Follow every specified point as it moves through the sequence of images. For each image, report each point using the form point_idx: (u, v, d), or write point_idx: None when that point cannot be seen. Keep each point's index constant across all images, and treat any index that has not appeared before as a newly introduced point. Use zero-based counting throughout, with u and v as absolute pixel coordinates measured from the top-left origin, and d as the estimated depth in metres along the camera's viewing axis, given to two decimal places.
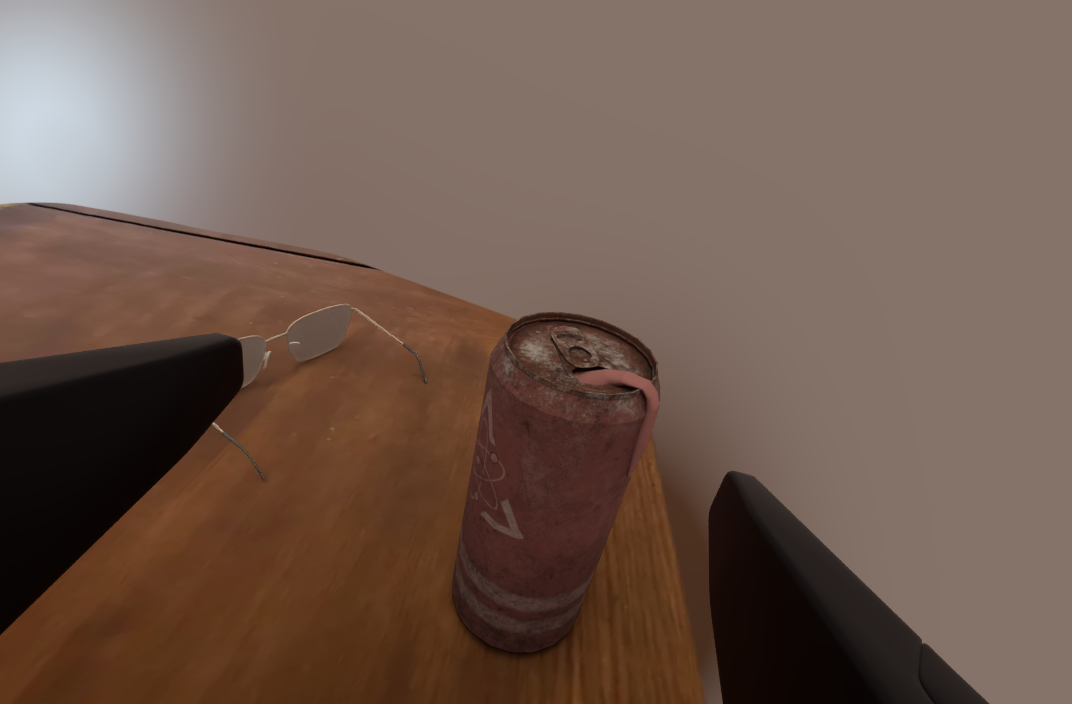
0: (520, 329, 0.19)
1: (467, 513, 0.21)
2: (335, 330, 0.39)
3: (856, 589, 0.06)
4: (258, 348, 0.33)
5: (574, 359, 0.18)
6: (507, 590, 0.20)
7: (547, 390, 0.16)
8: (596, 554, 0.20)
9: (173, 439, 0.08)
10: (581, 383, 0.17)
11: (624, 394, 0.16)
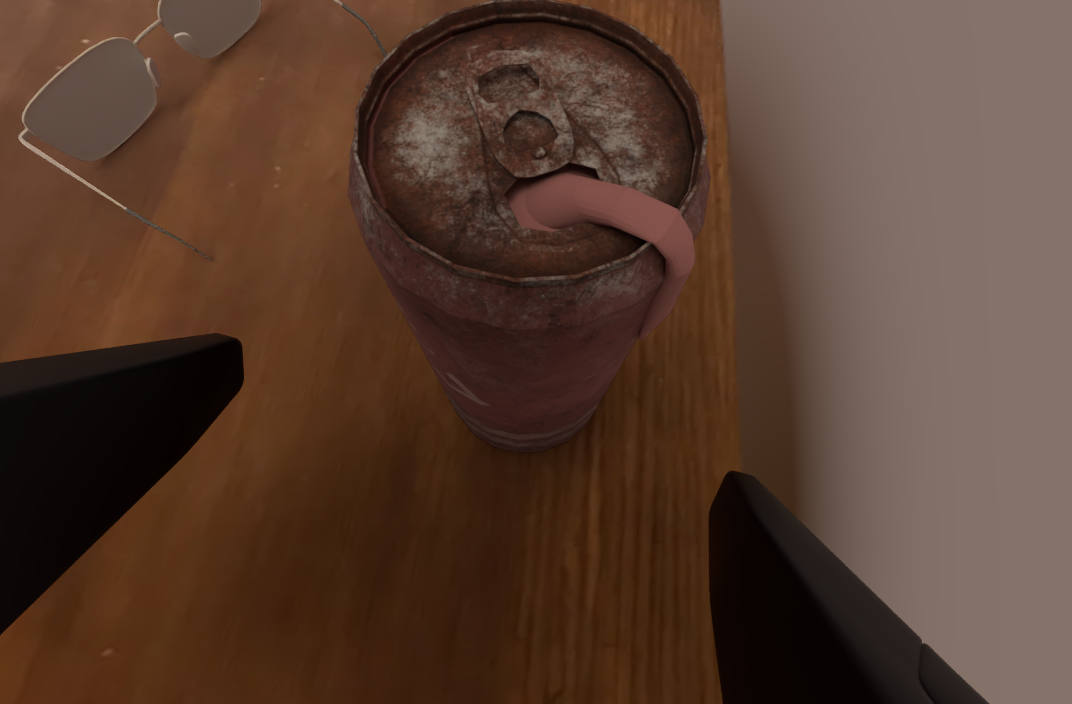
0: (405, 73, 0.09)
1: None
2: None
3: (856, 589, 0.06)
4: (131, 57, 0.23)
5: (516, 153, 0.08)
6: (492, 428, 0.16)
7: (442, 273, 0.07)
8: (605, 389, 0.15)
9: (173, 439, 0.08)
10: (523, 232, 0.08)
11: (610, 266, 0.07)
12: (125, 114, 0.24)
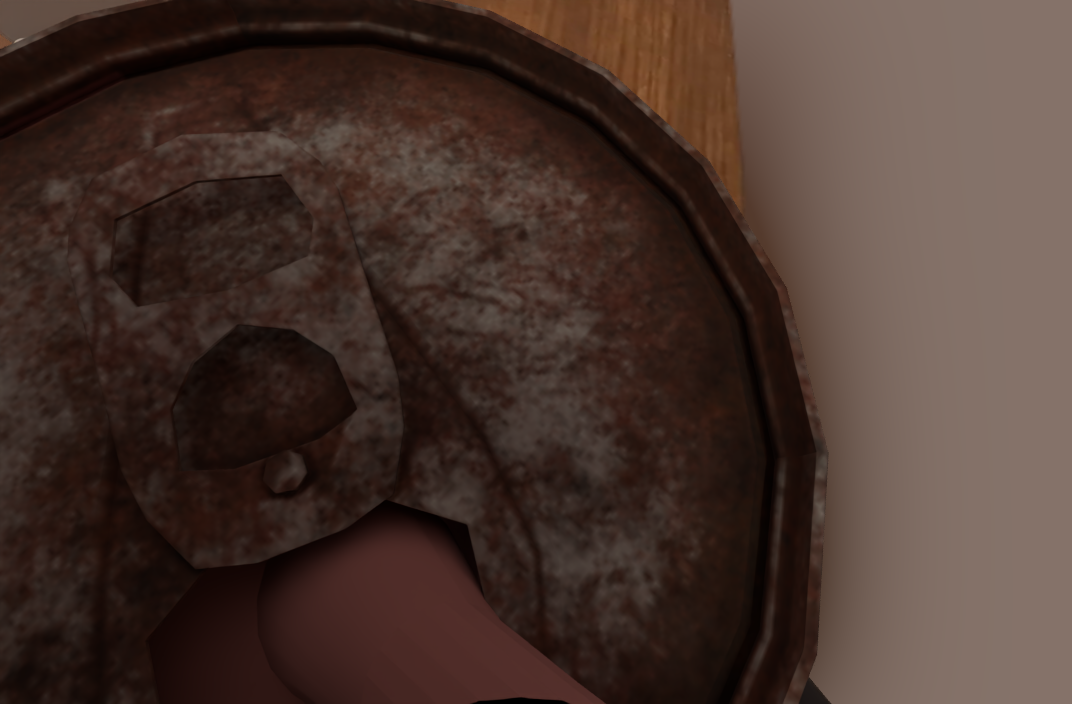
0: None
1: None
2: None
3: None
4: None
5: (218, 470, 0.03)
6: None
7: None
8: None
9: None
10: None
11: None
12: None
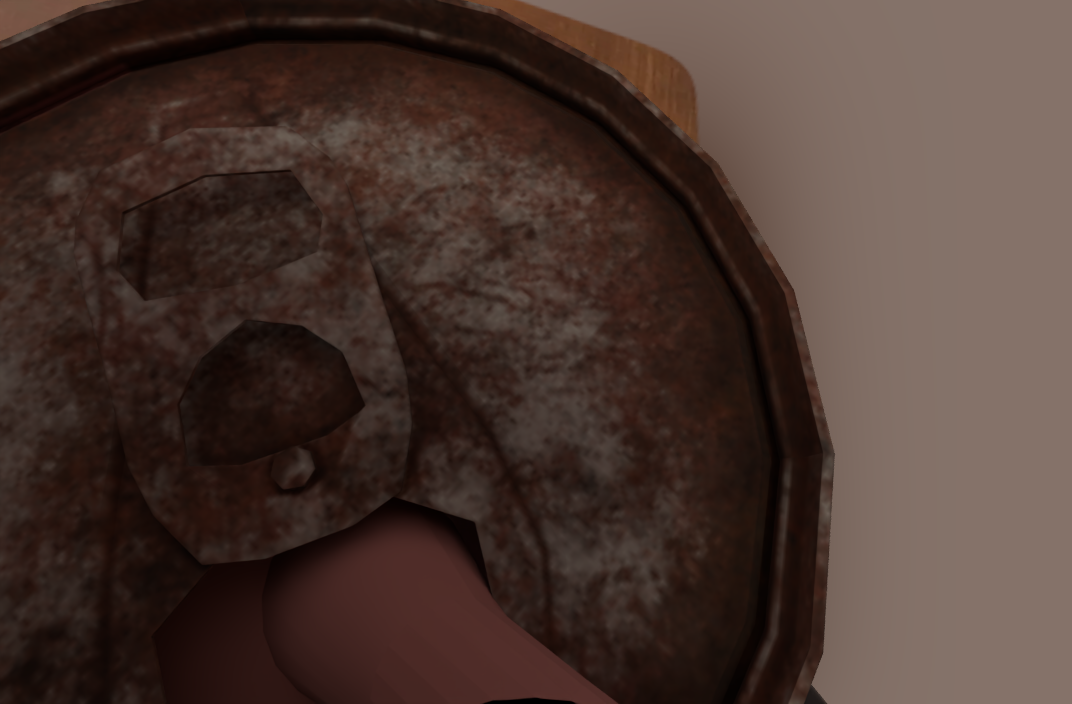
0: None
1: None
2: None
3: None
4: None
5: (225, 466, 0.03)
6: None
7: None
8: None
9: None
10: None
11: None
12: None
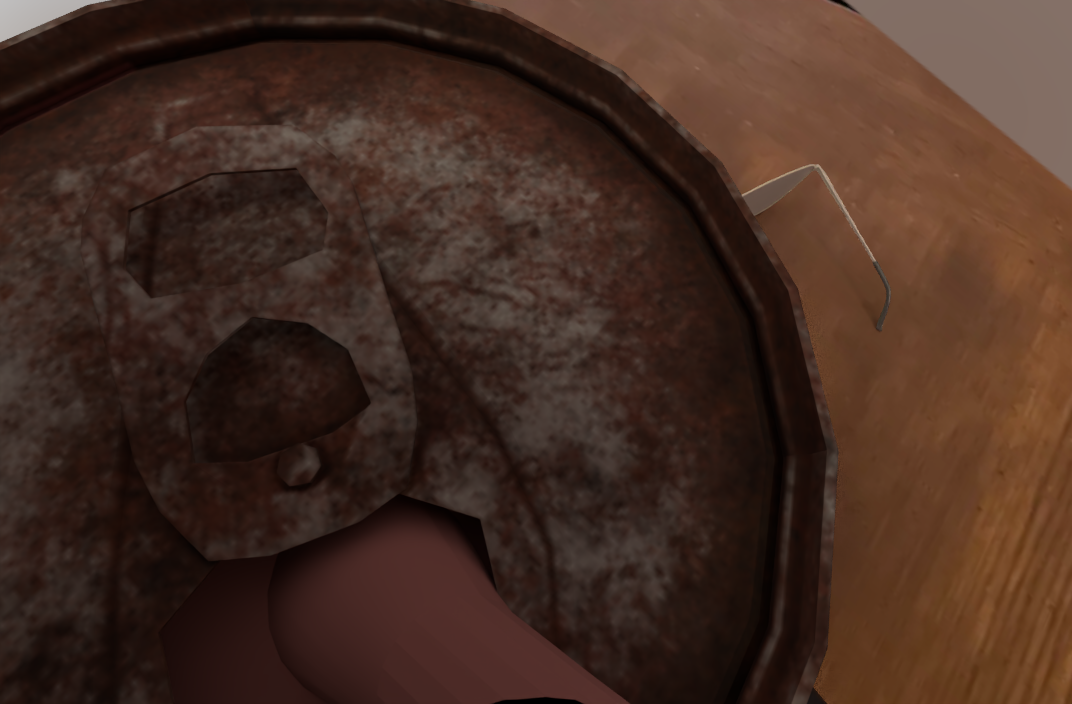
0: None
1: None
2: (772, 197, 0.25)
3: None
4: None
5: (231, 462, 0.03)
6: None
7: None
8: None
9: None
10: None
11: None
12: None
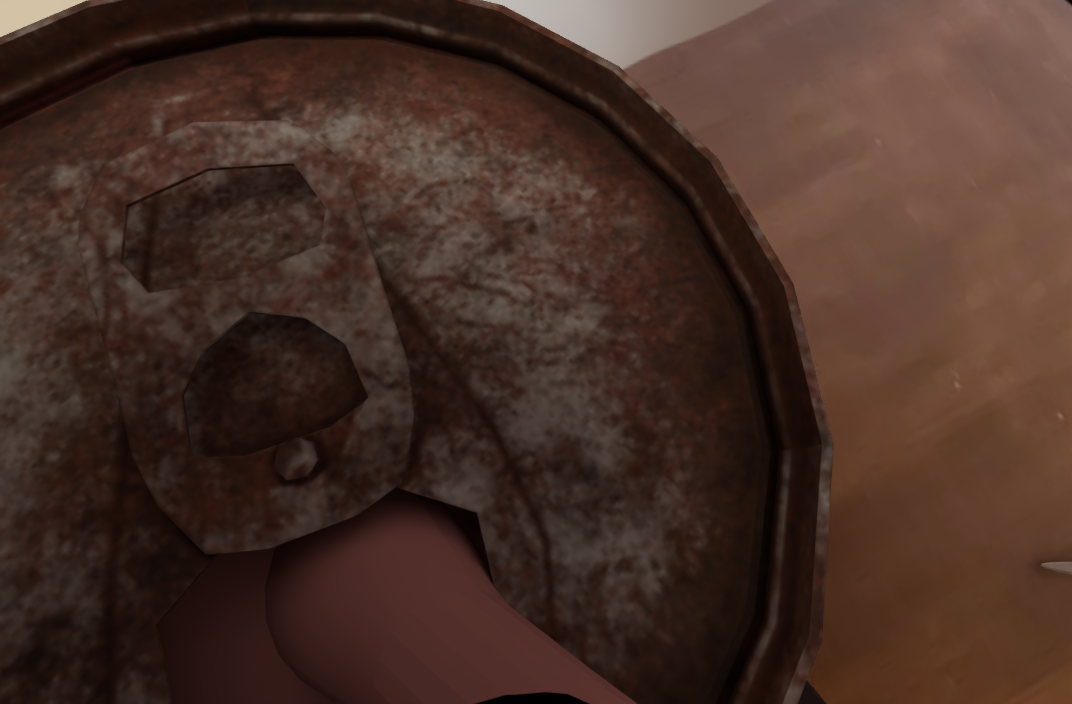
0: None
1: None
2: None
3: None
4: None
5: (229, 457, 0.03)
6: None
7: None
8: None
9: None
10: None
11: None
12: None
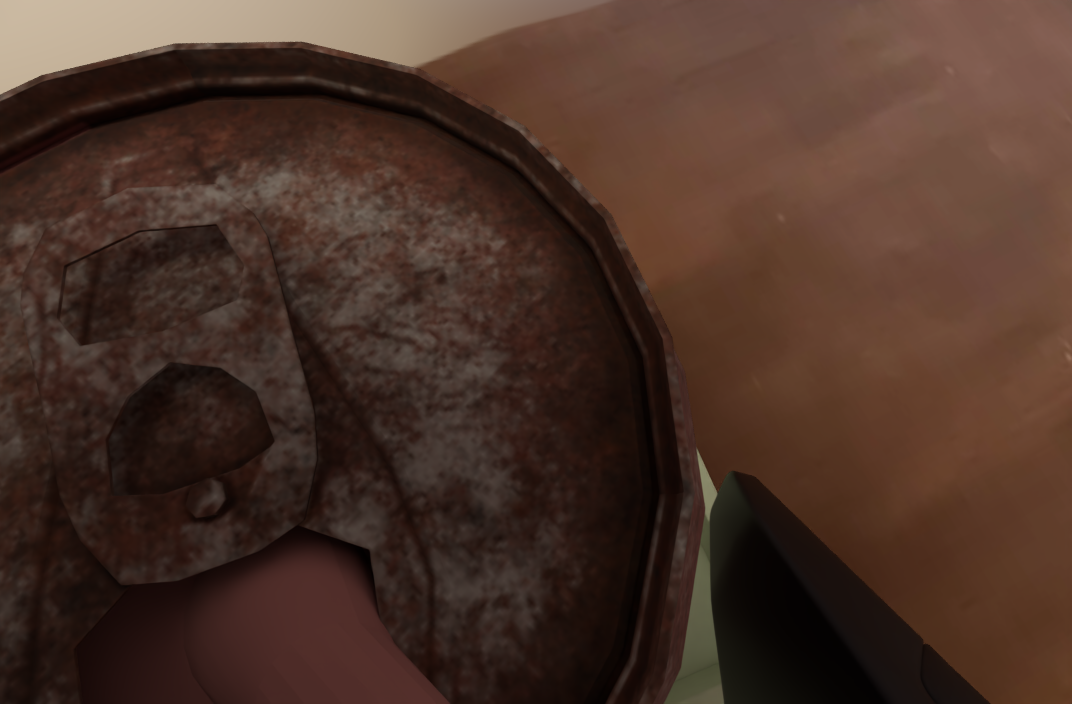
0: None
1: None
2: None
3: (858, 590, 0.06)
4: None
5: (148, 495, 0.03)
6: None
7: None
8: None
9: None
10: None
11: None
12: None
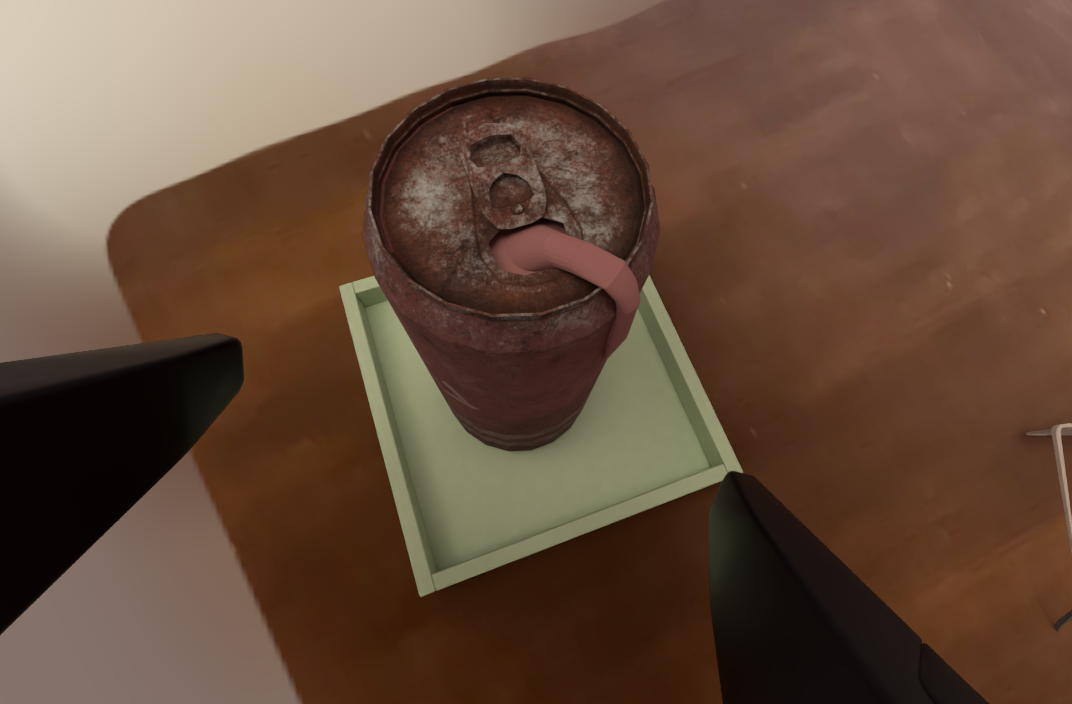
0: (411, 138, 0.11)
1: None
2: None
3: (856, 589, 0.06)
4: None
5: (499, 208, 0.10)
6: (483, 428, 0.18)
7: (435, 307, 0.09)
8: (583, 397, 0.17)
9: (173, 439, 0.08)
10: (501, 274, 0.10)
11: (568, 306, 0.09)
12: None
